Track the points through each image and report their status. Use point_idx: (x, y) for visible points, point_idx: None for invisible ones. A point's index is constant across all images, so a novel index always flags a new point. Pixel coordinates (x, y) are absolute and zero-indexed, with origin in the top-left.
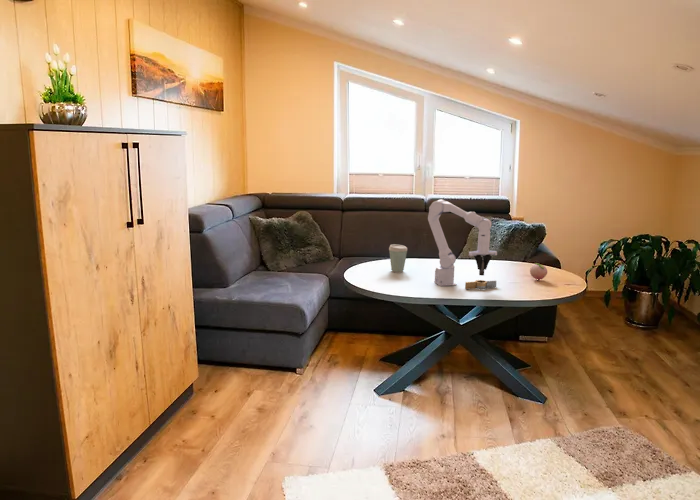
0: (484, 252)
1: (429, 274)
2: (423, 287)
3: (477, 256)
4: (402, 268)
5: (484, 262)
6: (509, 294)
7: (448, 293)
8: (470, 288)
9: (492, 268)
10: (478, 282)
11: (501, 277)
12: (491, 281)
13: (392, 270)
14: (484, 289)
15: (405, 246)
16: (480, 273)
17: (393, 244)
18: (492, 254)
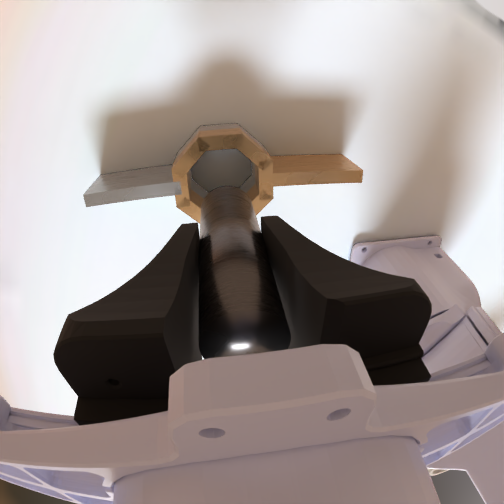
0: (336, 452)
1: None
2: (496, 224)
3: (409, 353)
4: None
5: (215, 284)
6: (73, 3)
7: (469, 97)
8: (308, 156)
9: None
10: (261, 155)
11: (47, 355)
12: (126, 187)
13: None
14: (206, 126)
15: (430, 472)
16: (249, 203)
17: None
18: (39, 420)
